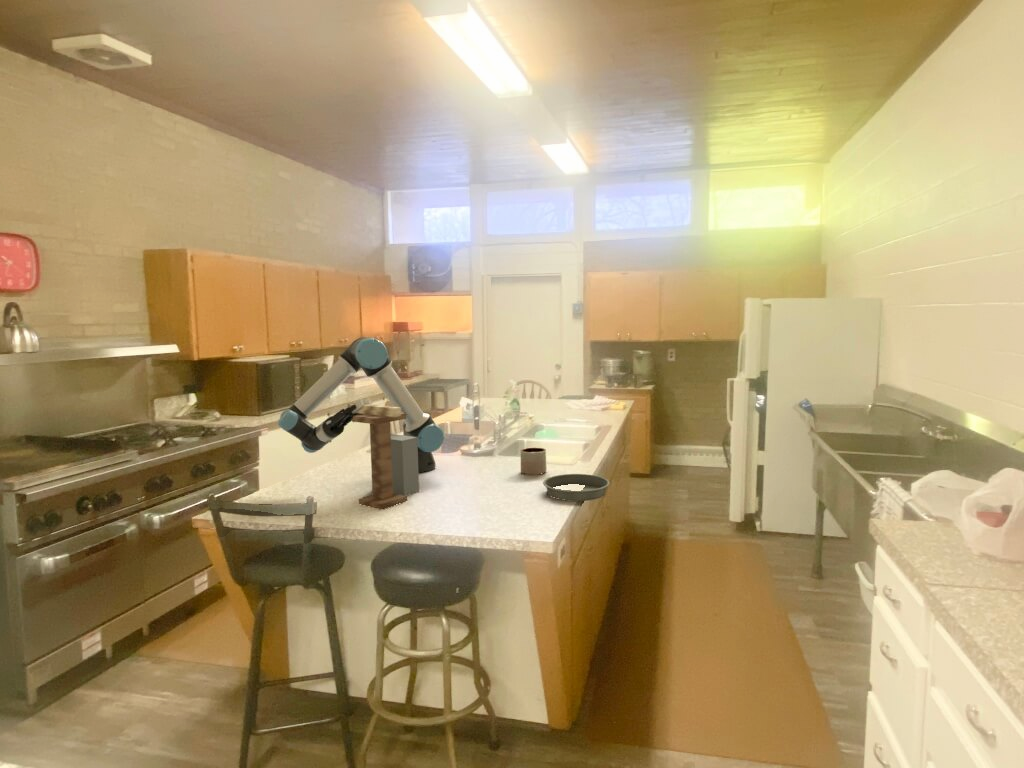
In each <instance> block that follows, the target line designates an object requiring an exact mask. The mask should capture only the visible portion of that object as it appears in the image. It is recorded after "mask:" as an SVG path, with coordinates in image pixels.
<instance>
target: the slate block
mask: <svg viewBox="0 0 1024 768" xmlns="http://www.w3.org/2000/svg"><path fill="white" fill-rule="evenodd" d="M369 443H370V446H371V441H370V442H369ZM391 458H392V483H393V493H395V494H400V495H404V496H406V495H407V496H410V495H413V494H412V493H414V494H416V492H417V493H419V492H420V481H419V480H420V479H419V478H420V476H419V473H420V472H418V444H417V437H412V436H404V435H403V434H395V433H391ZM371 470H372V465H371ZM371 488H372V487H371ZM371 491H373V488H372V489H371ZM409 494H410V495H409Z"/></svg>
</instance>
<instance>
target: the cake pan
mask: <svg viewBox="0 0 1024 768" xmlns="http://www.w3.org/2000/svg"><path fill="white" fill-rule="evenodd" d="M568 484H579V485H585V487H584V488H583V490H581V491H571V490H561V489H555V488H553V487H556V486H561V485H568ZM610 484H611V483H610V481H609V480H608V479H607V478H605V477H602V476H600V475H594V474H587V473H586V474H585V473H583V474H582V473H569V474H568V473H567V474H566V473H565V474H558V475H552V476H551V477H550V476H549V477H547V478H546V479H544V480H543V482H542V485H543V486H544V487H545V488H546V490H547V494H548V496H549V495H550V496H549V497H551V496H552V497H551V498H553V497H555V498H554V499H556V498H559V499H558V500H561V499H565V500H564V501H568V500H572V501H571V502H584V501H585V502H586V501H592V500H593V501H594V500H598V499H601V498H603V497H604V496H605V495H606V492H607V488H608V487H609V486H610Z"/></svg>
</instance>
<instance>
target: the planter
mask: <svg viewBox="0 0 1024 768" xmlns="http://www.w3.org/2000/svg"><path fill="white" fill-rule="evenodd" d="M520 472H521V473H522V474H524V473H525V474H524V475H527V474H539V475H542V474H541V473H543V474H545V473H546V472H547V450H546V448H543V447H535V446H534V447H533V446H532V447H531V446H530V447H524V448H521V449H520ZM544 472H545V473H544Z"/></svg>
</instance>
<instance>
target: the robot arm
mask: <svg viewBox="0 0 1024 768" xmlns="http://www.w3.org/2000/svg"><path fill="white" fill-rule="evenodd" d="M392 365H393V360H392V358H391V356H390V355H389V354H388V350H387V347H386V346H385V343H383V342H382V341H381V340H379V339H377V338H374V337H358V338H356V339H355V340H353V341H352V342H351V343H350V344H349V345H348V347H346V348H345V350H344V351H343V352H342V353H341V354H340V355H339V356H338V360H337V361H336V362H335V363H334V364H333V365H332V366H331V367H330V368H329V369H328V370H327V371H326V372H325V373H324V374H323V375H321V377H320V378H319V379H318V380H317V381H315V383H314V384H313V385H312V386H310V387H309V388H308V389H307V390H306V391H305V392H304V393H303V394H302V395H300V397H299V398H298V399H297V400H296V401H295V402H294V403H293V404H292V405H291V406H290V407H289V408H288V409H286V410H284V411H282V412H281V414H280V416H279V419H278V421H277V425H278V427H280V428H281V429H282V430H283V431H285V432H287V433H289V434H290V435H292V436H293V437H294V438H296V439H298V440H299V441H300V442H301V447H302V448H303V450H304V451H306V452H307V453H309V454H312V453H313V454H314V453H317V452H319V450H322V449H323V448H324V447H325V446H326V445H327V444H329V443H332V441H333V440H334V439H335V438H337V437H338V436H340V435H342V433H343V432H344V430H345V427H346V426H347V425H348V424H349V423H350V422H352V423H354V422H353V416H356V415H361V413H355V412H356V411H358V410H359V409H360V408H361V407H363V406H364V404H370V405H373V403H372V401H371V398H370V397H366V399H364V400H363V399H362V398H359V399H357V400H356V401H354V402H353V403H354V404H353V405H351V406H350V407H348V406H347V407H346V408H342V409H341V410H339V411H337V413H335V414H333V415H331V416H329V417H328V418H326V419H325V420H323V421H322V422H321V423H319V424H318V425H317V426H315V425H314V424H312V423H311V422H310V421H308V420H307V418H308V417H310V416H311V414H312V413H313V412H314V411H315V410H317V408H318V407H320V406H321V404H323V403H324V401H326V400H327V399H328V397H330V396H331V395H332V394H333V393H334V392H335V390H337V389H338V388H339V387H340V386H341V385H342V384H343V383H344V382H345V381H346V380H347V379H348V378H349V377H350V376H351V375H352V374H357V372H359V371H360V370H362V371H363V372H364V374H365V375H366V377H368V378H372V379H373V380H374V381H375V382H376V384H377V386H378V387H379V388H380V390H381V392H382V393H383V395H384V396H385V397H386V398H387V400H388V401H389V402H390V404H391V406H392V407H401V413H406V419H402V420H401V421H402V428H403V429H402V431H403V432H402V433H403V434H402V435H404V436H412V437H417V444H418V473H424V471H426V472H430V471H429V470H431V471H433V470H432V469H434V468H435V467H437V466H436V460H435V457H434V455H433V453H432V452H435V451H438V450H439V449H440V448H441V447H442V446H443V443H444V441H445V434H444V431H443V429H442V428H441V427H440V426H439V425H438V424H436V422H435V421H434V419H432V416H431V415H430V414H429V413H426V412H423V410H422V409H421V408H420V405H419V404H418V403H417V401H416V399H415V398H414V397H413V396H412V394H411V393H410V391H409V390H408V389H407V387H406V385H405V384H404V383H403V381H402V380H401V378H400V376H399V375H398V374H397V372H396V371H395V369H394V368H393V366H392ZM435 469H436V468H435ZM435 469H434V470H435Z"/></svg>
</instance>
